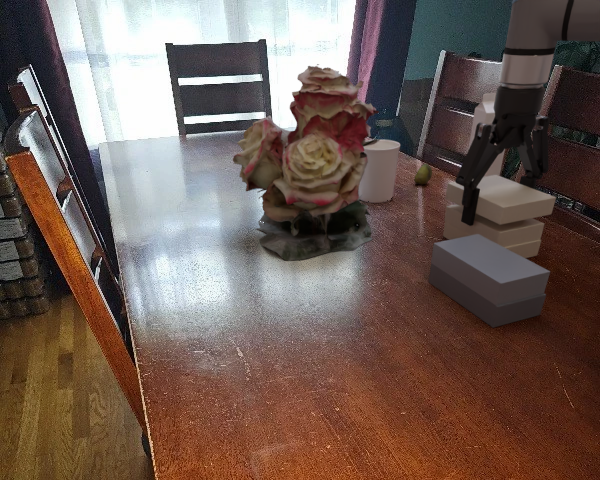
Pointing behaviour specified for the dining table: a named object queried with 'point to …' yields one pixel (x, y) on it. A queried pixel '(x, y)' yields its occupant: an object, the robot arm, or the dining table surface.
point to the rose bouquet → (311, 168)
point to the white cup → (379, 171)
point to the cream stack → (496, 231)
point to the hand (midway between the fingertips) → (493, 218)
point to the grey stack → (488, 279)
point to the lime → (423, 174)
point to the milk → (486, 116)
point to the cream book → (505, 200)
